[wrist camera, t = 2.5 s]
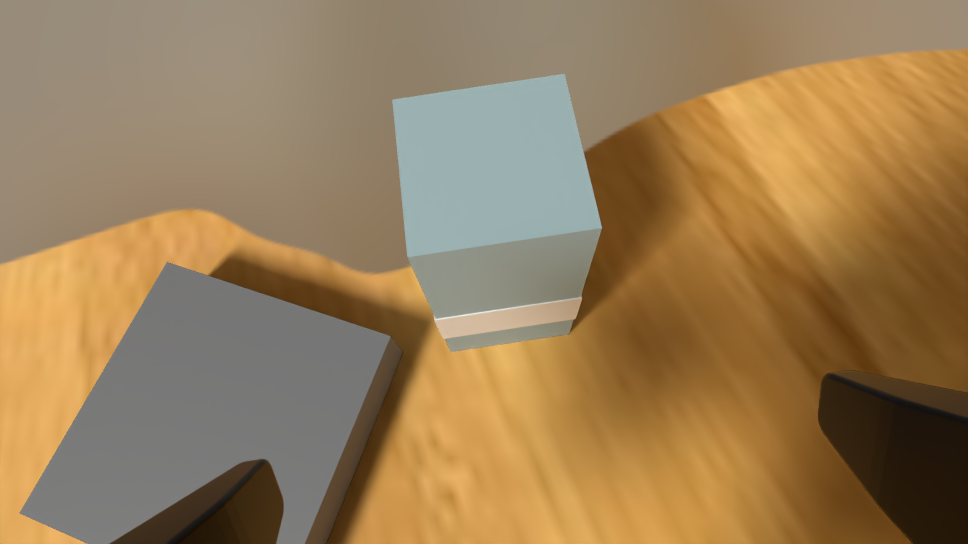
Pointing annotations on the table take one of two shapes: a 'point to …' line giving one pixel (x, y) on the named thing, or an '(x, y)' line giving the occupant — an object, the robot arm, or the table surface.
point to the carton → (497, 209)
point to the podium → (218, 410)
